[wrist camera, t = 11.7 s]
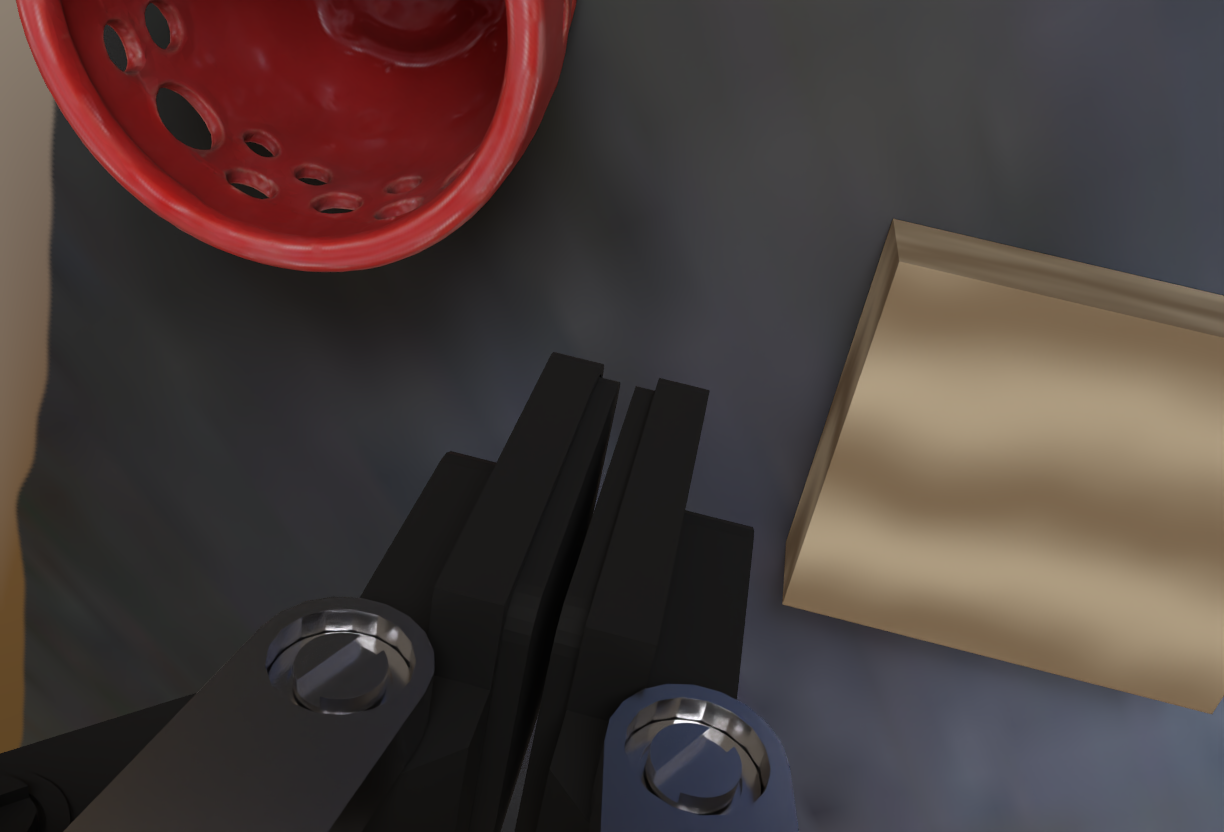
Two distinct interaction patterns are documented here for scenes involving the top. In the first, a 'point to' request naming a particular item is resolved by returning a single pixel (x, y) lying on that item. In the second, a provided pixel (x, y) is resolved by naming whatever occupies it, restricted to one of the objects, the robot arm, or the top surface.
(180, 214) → the plant pot
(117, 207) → the top surface
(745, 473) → the top surface
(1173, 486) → the deck
